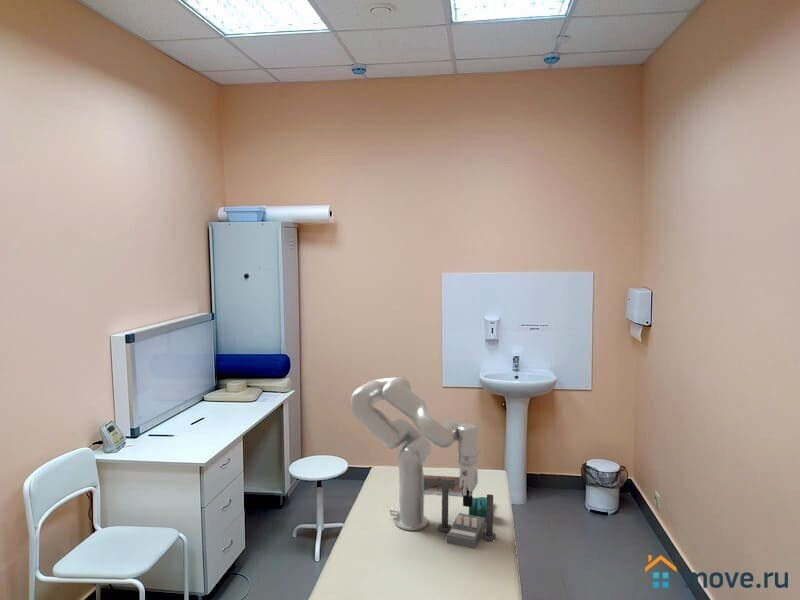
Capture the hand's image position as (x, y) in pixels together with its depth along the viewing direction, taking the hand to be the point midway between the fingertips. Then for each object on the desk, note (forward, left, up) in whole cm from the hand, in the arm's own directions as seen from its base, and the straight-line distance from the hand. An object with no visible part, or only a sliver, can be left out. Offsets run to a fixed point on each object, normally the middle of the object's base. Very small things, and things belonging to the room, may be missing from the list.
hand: (467, 505), depth 208 cm
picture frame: (-22, +36, -12) cm, 44 cm away
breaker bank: (0, 0, -8) cm, 8 cm away
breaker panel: (0, 0, -11) cm, 11 cm away
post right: (+8, 0, -11) cm, 14 cm away
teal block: (+1, +20, -11) cm, 23 cm away
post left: (-9, 0, -11) cm, 14 cm away
